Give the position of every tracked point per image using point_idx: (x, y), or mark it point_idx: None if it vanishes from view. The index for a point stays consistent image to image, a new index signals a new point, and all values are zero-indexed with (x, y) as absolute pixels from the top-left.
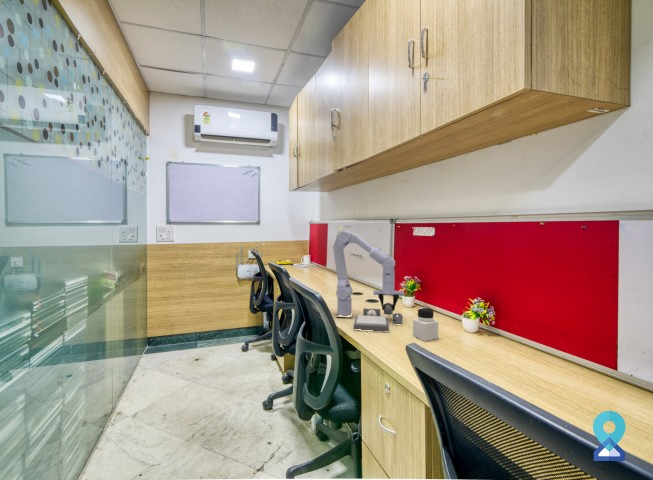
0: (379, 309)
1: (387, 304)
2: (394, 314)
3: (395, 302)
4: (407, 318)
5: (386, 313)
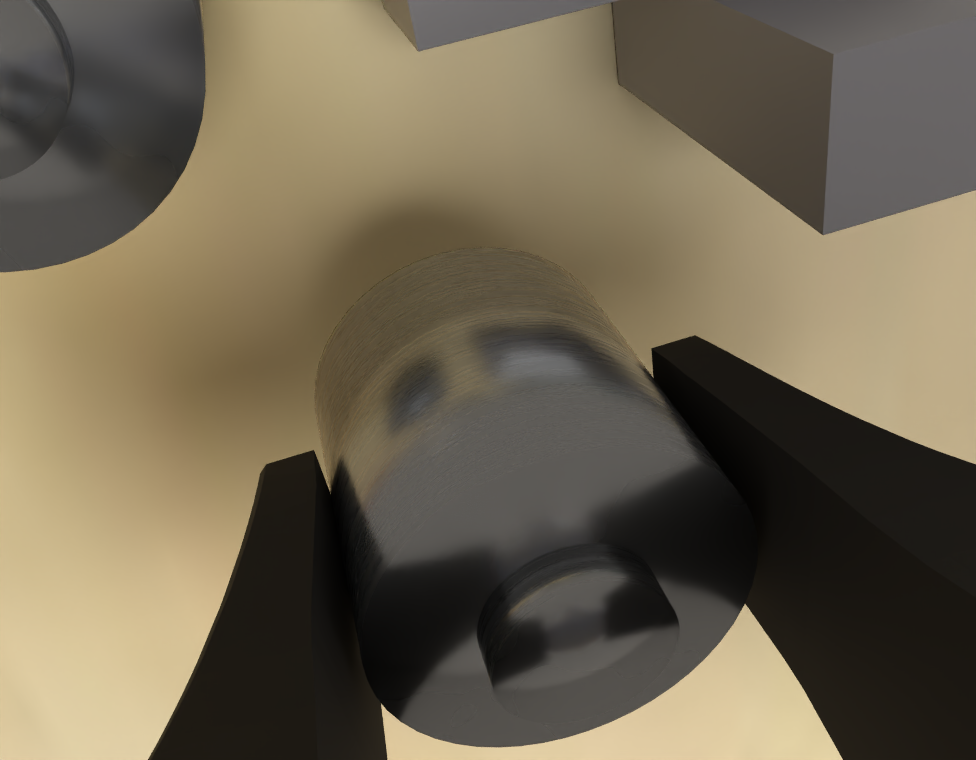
0: (857, 134)
1: (603, 553)
2: (129, 82)
3: (199, 742)
4: (3, 635)
5: (515, 263)
